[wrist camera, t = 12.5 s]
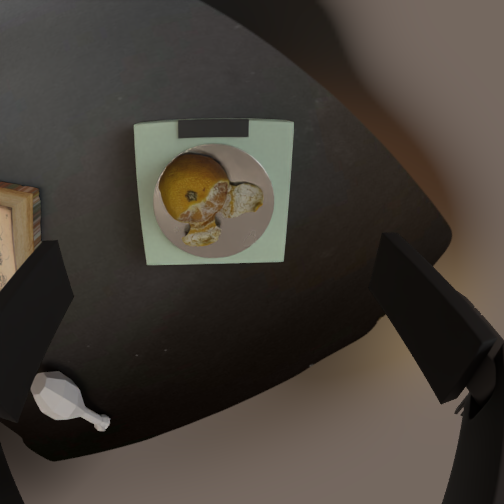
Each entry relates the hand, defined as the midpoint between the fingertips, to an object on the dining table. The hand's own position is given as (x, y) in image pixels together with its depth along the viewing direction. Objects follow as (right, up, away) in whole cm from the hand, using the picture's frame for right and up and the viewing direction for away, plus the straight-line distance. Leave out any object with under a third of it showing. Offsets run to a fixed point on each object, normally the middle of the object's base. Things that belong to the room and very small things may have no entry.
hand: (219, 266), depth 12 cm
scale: (-3, +7, +19) cm, 20 cm away
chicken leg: (-30, -24, +32) cm, 50 cm away
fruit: (-3, +5, +16) cm, 17 cm away
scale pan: (-2, +5, +16) cm, 17 cm away
